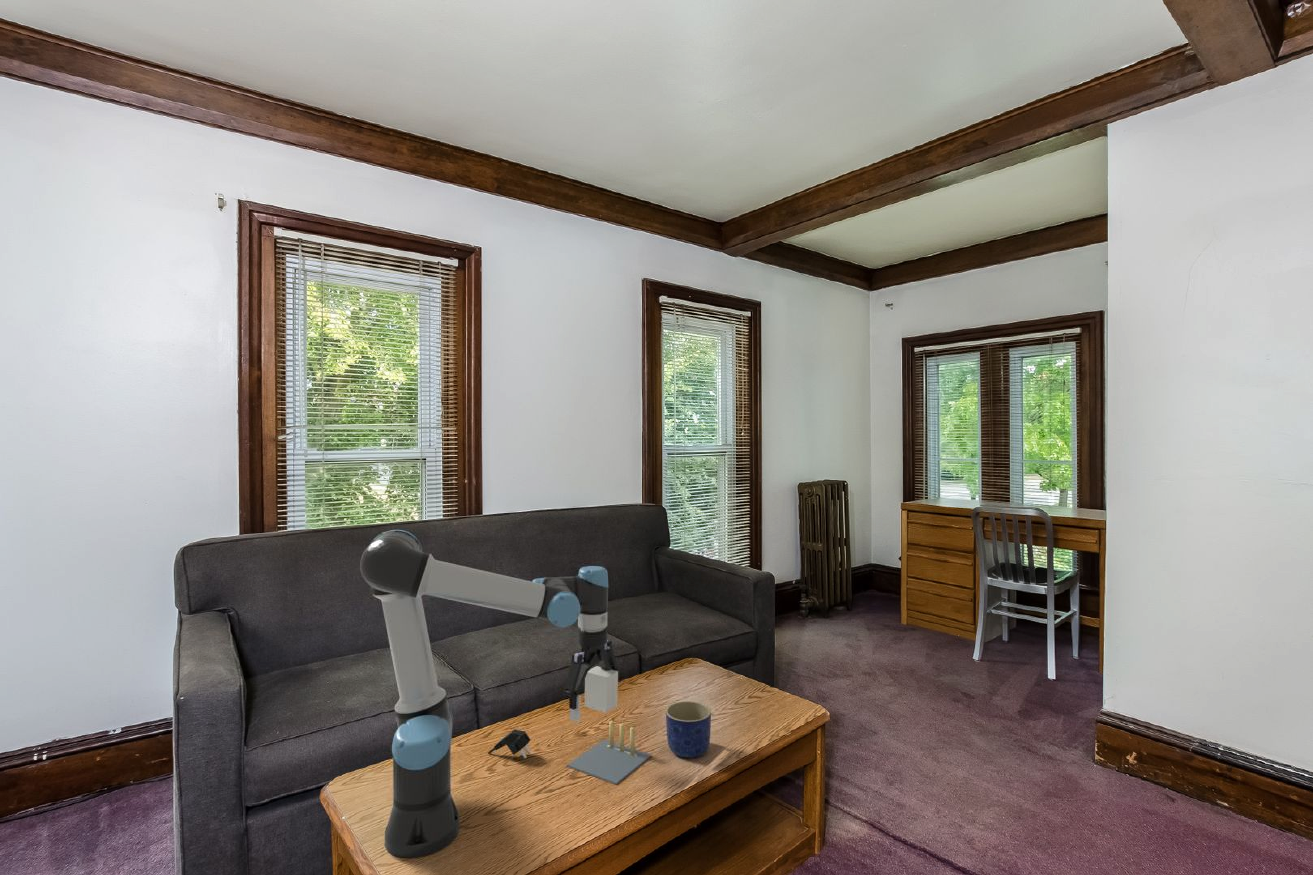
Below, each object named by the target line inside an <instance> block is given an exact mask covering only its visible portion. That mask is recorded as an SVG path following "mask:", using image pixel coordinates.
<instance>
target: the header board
mask: <svg viewBox="0 0 1313 875" xmlns="http://www.w3.org/2000/svg"><path fill="white" fill-rule="evenodd" d="M608 723H609V725H608V726H609V733H608V734H609V737H608V738H609V740H608V739H602V740H601V741H599V742H598V743H596V744H595V745H593V746H591V748H589V749H588V750H587V751H586V752H583V753H581V755H579V756H578V757H576V758H575V759H574V760H572V761H570V762H569V763H568V764H566V767H567V768H570V769H573V770H576V771H578V772H581V773H584V774H586V775H589V776H592V777H594V778H596V779H600V780H602V781H605V782H607V783H610V784H613V785H618V784H619V783H620V782H622V781H623V780H624V779H625V778H627V777H628V776H629V775H630V774H631V773H632V772H634V771H635V770H637V768H639V767H641V765H643V764H644V763H645V762H646V761H647V760H649V759H650V758H651V757H652V754H650V753H648V752H644V751H641V750H638V749H636V748H635V746H636V744H635V737H636V736H635V727H633V726H631V727H630V728H629V741H630V742H629V743H630V744H629V746H626V745H625V725H624V723H621V724H619V743H617V742H615V741H614V740H615V728H614V727H615V725H614V720H610V721H609V722H608Z"/></svg>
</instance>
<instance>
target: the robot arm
mask: <svg viewBox="0 0 1313 875" xmlns="http://www.w3.org/2000/svg"><path fill="white" fill-rule="evenodd" d="M359 561H360V563H359V570H360V574H361V576H362V578H363V580H364V581H365V582H366V584H368V585H369V586H370V589H371V592H372V596H373V597H374V598H377V599H379V600H380V601H381V605H382V611H383V616H384V621H385V627H386V631H387V639H388V644H389V648H390V655H391V658H392V663H393V664H392V665H393V668H394V675H395V680H396V685H397V690H398V691H397V692H398V694H399V695H398V696H399V699H398V701H397V702H396V704H395V705H394V712H395V713H394V714H395V720H396V724H397V729H396V731H395V733H394V734H393V735H394V736H393V739H392V745H391V753H392V768H393V769H392V775H393V776H392V777H393V778H392V780H393V781H392V782H393V784H392V786H393V787H392V788H393V790H392V791H393V792H392V796H393V797H392V800H393V801H392V802H393V804H392V808H391V812H390V814H389V819H388V823H387V825H386V828H385V829H384V830H385V831H384V847H385V850H386V851H387V853H388V854H391V855H392V856H394V857H397V858H402V859H414V858H421V857H425V856H428V855H431V854H434V853H436V852H438V851H440V850H442V849H444V848H446V847H447V846H448V845H449V844H451V843H452V842H453V841H454V840H455V839H456V837H457V835H458V834H459V831H460V816H459V815H460V814H459V811H458V809H457V807H456V803H455V800H454V798H453V796H452V792H451V789H452V788H451V782H452V781H451V779H452V778H451V755H452V754H451V750H452V735H453V734H452V733H453V725H454V716H453V711H452V709H451V706H450V705H449V702H448V697H447V692H446V689H444V688H442V687H441V686H439V685H438V680H437V675H436V674H437V673H436V668H435V664H434V663H435V662H434V658H433V652H432V648H431V642H430V637H429V636H430V635H429V632H428V626H427V621H426V616H425V610H424V603H423V599H422V596H425V595H426V596H431V597H435V598H442V599H445V600H450V601H455V602H461V603H464V604H465V603H466V604H470V605H475V606H479V607H484V608H488V609H494V610H499V611H503V612H509V613H514V614H516V615H517V614H518V615H523V616H529V617H532V618H538V619H542V620H545V621H546V620H547V621H549V622H550V623H552V624H553V625H555V626H556V627H558V628H559V627H560V628H567V627H570V626H572V625H573V624H575V623H576V622H577V627H578V630H577V642H578V644H579V645H580V651H579V652H578V653H577V652H573V653H572V654H571V663H570V666H569V671H568V674H567V677H566V680H565V684H564V688H563V691H562V694H563V695H565V696H568V699H569V700H568V702H569V703H568V707H569V720H570V721H572V722H575V723H580V722H581V703H582V702H581V701H582V699H581V698H582V696H581V694H580V691H581V689H582V687H583V685H584V683H585V677H586V675H587V672H588V671H589V670H590V669H592V668H593V667H595V665H598V666H599V667H601V669H604V670H608V671H609V670H614V671H618V672H619V666H618V663H617V660H616V656H615V652H614V649H613V641H612V640H609V639H608V628H607V627H608V611H609V610H608V604H609V603H608V602H609V601H608V598H609V587H610V586H609V577H608V570H607V569H606V568H605V567H603V566H597V565H587V566H582V567H580V569H579V571H578V574H577V575H575V576H573V575H572V576H558V577H553V576H552V577H547V576H545V577H540V578H534V579H533V580H532V581H531V580H527V579H523V578H522V579H521V578H517V577H512V576H508V575H504V574H501V573H500V574H499V573H495V572H491V571H486V570H481V569H478V568H472V567H469V566H464V565H459V564H455V563H450V562H446V561H441V560H437V559H435V558H434V556H433V555H432V553H428V552H424V551H423V549H422V543H420V541H419V540H418V538H417V537H416V536H415V535H414V534H412V533H410V532H409V531H407V530H404V529H403V530H401V529H392V530H388V531H385V532H381V533H380V534H378V535H377V536H375V538H373V540H371V542H370V544H369V545H368V546H367V547H366V548H365V550H364V551H363V553H362V555H361V558H360V560H359Z"/></svg>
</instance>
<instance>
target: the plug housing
mask: <svg viewBox="0 0 1313 875" xmlns="http://www.w3.org/2000/svg"><path fill="white" fill-rule="evenodd" d="M618 684H619V670H618V671H614V670H609V671H608V670H604V669H601V667H600V666H599V665H597V666H593V667H591V669H590V670H589V671H588V672H587V675H586V677H585V680H584V707H586V708H589V709H592V710H595V711H599V712H603V713H606V714H607V713H608V712H609V711H611V710H613V709H615V708H616V707H618V699H619V698H618V694H619V690H618V689H619V686H618Z"/></svg>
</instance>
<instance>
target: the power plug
mask: <svg viewBox="0 0 1313 875" xmlns="http://www.w3.org/2000/svg"><path fill="white" fill-rule="evenodd" d="M531 740H532V739H531V738H530V736H529V735H528V734H527V732H526V731H525V730H518V729H515V728H514V729H513V730H511V731H510V732H509V733H508V734H506V735H505V736H504V737H503V738H501V739H500V741H498V742H497V743H496V744H495V745H494V747H493V748H491V749H490V750H488V752H487V754H488V755H490V754H492V753H494V752H495V751H498V750H500V749H502V748H503V747H505V746H507V748H508V749H509V751H510V752H511V754H512V755H513V756H514V755H516V754H517V753H520V754H521V755H522V756H523V759H527V757H528V756H527V755H526V753H527V754H529V755H530V754H531V750H530V749H529V747H528V746H527V745H529V743H530V741H531ZM523 749H525V751H526V753H525V752H524V750H523Z"/></svg>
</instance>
